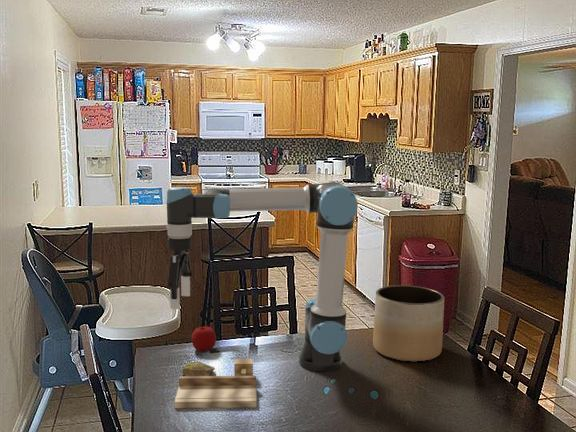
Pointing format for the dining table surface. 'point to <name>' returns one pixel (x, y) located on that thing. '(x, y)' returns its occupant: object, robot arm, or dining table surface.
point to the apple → (203, 339)
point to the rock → (197, 369)
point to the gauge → (243, 367)
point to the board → (216, 392)
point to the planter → (408, 322)
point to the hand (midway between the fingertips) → (180, 302)
